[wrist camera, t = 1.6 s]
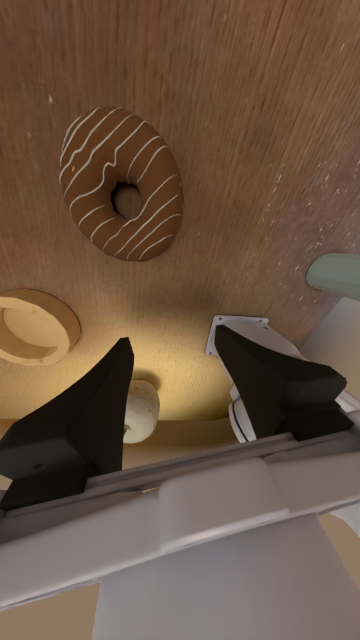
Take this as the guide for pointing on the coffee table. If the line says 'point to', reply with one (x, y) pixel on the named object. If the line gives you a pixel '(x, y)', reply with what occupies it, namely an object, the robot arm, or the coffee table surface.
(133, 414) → the decorative object
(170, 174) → the donut
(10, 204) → the coffee table surface
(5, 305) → the holder
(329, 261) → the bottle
